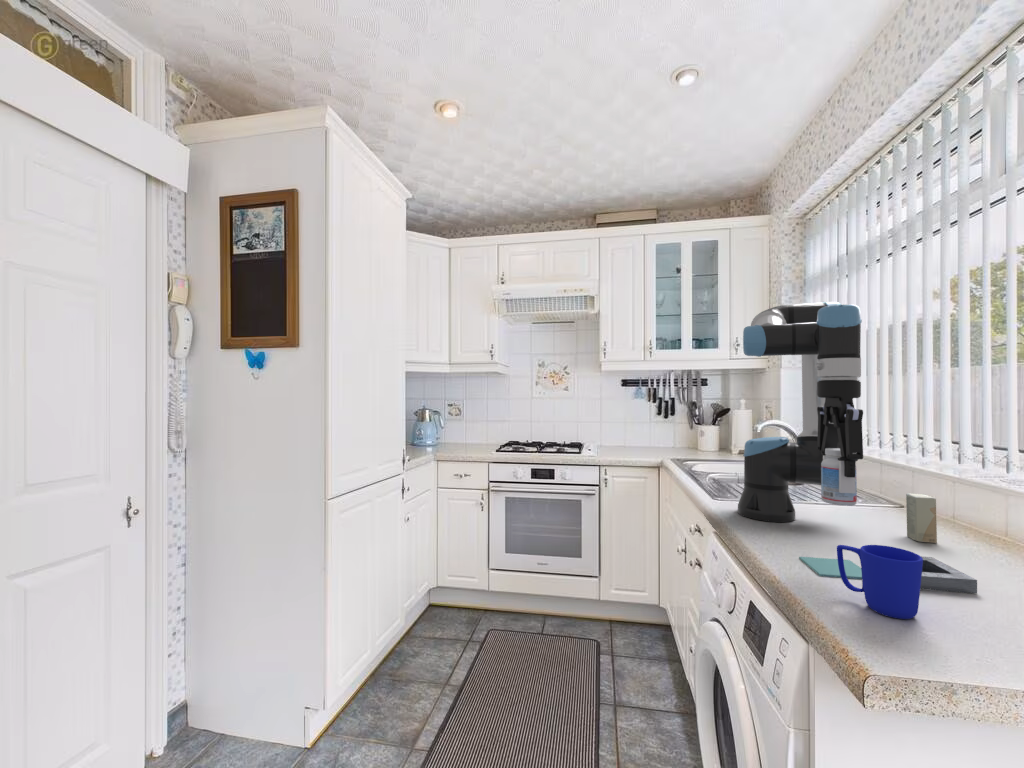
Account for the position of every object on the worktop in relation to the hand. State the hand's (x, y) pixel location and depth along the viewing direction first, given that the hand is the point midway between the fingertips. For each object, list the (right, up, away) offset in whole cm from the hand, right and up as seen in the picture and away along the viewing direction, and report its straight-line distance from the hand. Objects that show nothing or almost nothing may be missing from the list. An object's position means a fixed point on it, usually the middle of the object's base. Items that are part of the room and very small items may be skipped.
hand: (838, 488), depth 97 cm
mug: (-6, -17, -17) cm, 25 cm away
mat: (-1, -17, 0) cm, 17 cm away
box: (+35, -17, +20) cm, 43 cm away
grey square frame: (+13, -17, -5) cm, 21 cm away
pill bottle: (0, -3, 0) cm, 3 cm away
